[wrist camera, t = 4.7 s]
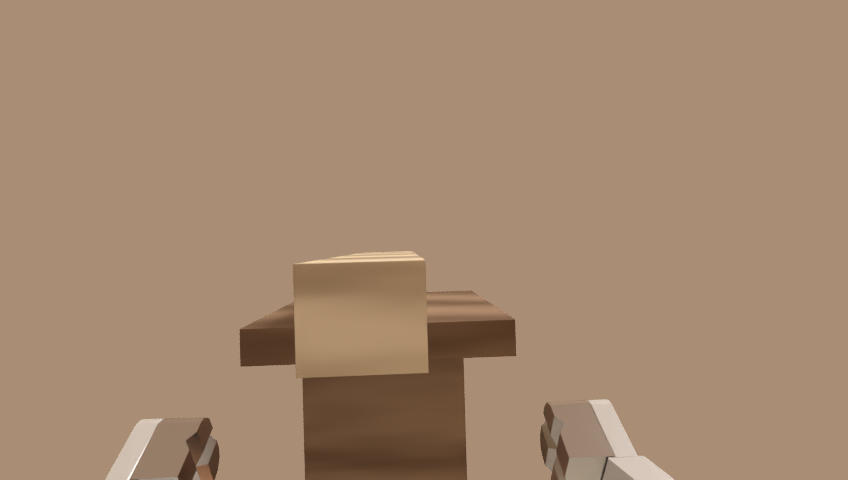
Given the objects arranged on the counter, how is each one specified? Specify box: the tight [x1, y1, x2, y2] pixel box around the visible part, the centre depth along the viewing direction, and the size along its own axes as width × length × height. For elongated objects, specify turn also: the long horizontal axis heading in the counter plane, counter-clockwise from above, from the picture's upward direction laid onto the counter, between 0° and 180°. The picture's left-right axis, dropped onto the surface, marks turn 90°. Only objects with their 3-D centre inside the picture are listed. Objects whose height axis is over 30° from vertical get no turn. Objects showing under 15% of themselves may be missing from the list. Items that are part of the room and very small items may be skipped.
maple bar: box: [293, 251, 429, 378], centre depth 24 cm, size 22×4×3 cm, turn 2°
